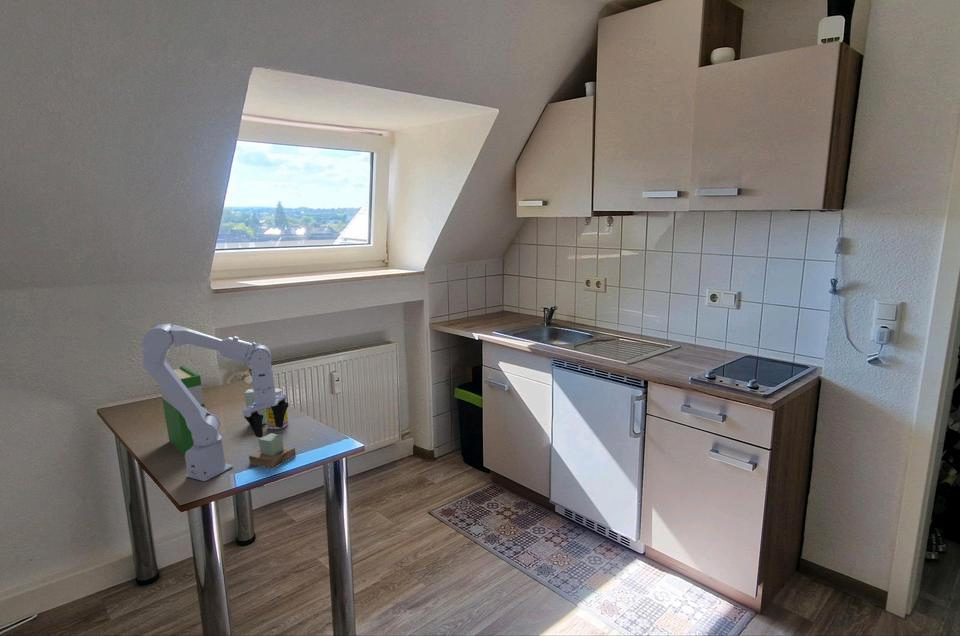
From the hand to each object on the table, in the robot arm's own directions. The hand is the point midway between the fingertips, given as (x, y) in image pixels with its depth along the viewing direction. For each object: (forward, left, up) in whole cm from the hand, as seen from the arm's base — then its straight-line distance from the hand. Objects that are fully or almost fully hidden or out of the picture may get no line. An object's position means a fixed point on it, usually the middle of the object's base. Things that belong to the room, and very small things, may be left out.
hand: (269, 431), depth 161 cm
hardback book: (-2, +34, -9) cm, 36 cm away
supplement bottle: (+20, +19, -9) cm, 29 cm away
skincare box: (+20, +28, -9) cm, 36 cm away
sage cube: (0, 0, -6) cm, 6 cm away
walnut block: (0, 0, -9) cm, 9 cm away
